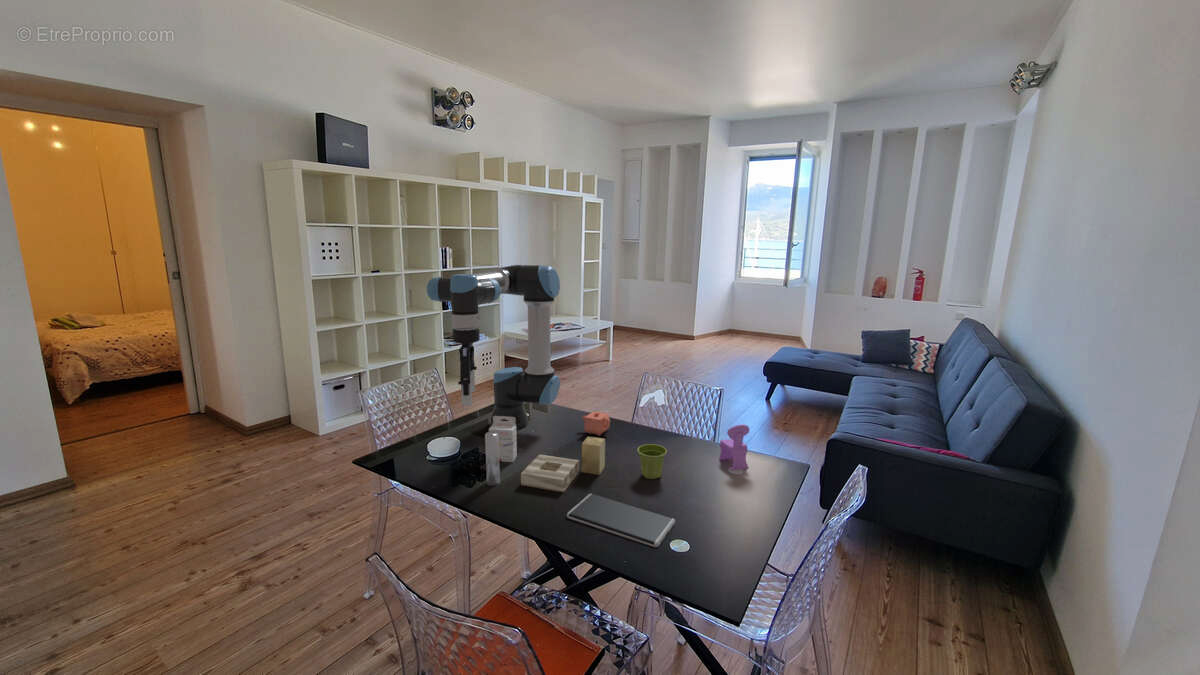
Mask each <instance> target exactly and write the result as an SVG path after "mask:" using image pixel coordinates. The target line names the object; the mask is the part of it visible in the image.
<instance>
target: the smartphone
mask: <svg viewBox="0 0 1200 675" xmlns="http://www.w3.org/2000/svg"><path fill="white" fill-rule="evenodd" d="M566 517H567V518H568V520H569V519H570V520H573V521H576V522H578V523H581V524H584V525H587V526H591V527H594V528H596V529H599V530H602V531H605V532H609V533H611V534H615V535H617V536H619V537H623V538H626V539H628V540H629V539H630V540H631V541H635V542H638V543H641V544H644V545H646V546H647V545H648V546H650V547H653V548H657V547H660V545H661V543H662V542H663V541H664V540H665V538H666V537H667V535H668V534H669V532H671V530H672V528H673V527H674V526H675V524H676V519H675V518H673V517H670V516H667V515H663V514H660V513H656V512H653V511H651V510H646V509H643V508H641V507H636V506H635V505H634V506H633V505H630V504H628V503H624V502H620V501H618V500H614V499H611V498H609V497H608V498H607V497H604V496H601V495H597V494H595V493H589V494H587V495H586V496H585V497H584V498H583V499H582V500H581V501H579V502H578V503H577V504H576V505H575V506H573V507H572V508H571V509H570V510H569V511H568V512H567V513H566Z"/></svg>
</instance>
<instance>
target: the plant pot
mask: <svg viewBox="0 0 1200 675" xmlns="http://www.w3.org/2000/svg"><path fill="white" fill-rule="evenodd" d="M667 452H668V451H667V448H665V447H664V446H662V445H661V444H659V445H658V444H651V443H648V444H647V443H646V444H643V445H640V446H638V448H637V453H638V455H639V459H640V467H641V468H640V469H641V475H642V476H643V477H644V478H645V479H649V480H654V479H659V478H661V476H662V471H663V466H664V460H665V457H666V455H667Z"/></svg>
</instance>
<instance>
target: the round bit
mask: <svg viewBox="0 0 1200 675" xmlns="http://www.w3.org/2000/svg"><path fill="white" fill-rule="evenodd" d="M484 443H485V466H486V467H485V468H486V469H485V470H486V472H485V473H486V484H487V486H497V485H499V484H500V483H501V476H500V475H501V474H500V472H501V471H500V461H499V436H498V432H494V431H492V432H489V431H488V432H485V434H484Z"/></svg>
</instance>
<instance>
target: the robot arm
mask: <svg viewBox="0 0 1200 675" xmlns="http://www.w3.org/2000/svg"><path fill="white" fill-rule="evenodd" d="M560 286H561V283H560V278H559V274H558V272H557V270H556V268H554V267H553V266H549V265H542V264H540V265H539V264H538V265H532V264H531V265H527V264H513V265H509V266H507V265H506V266H503V267H502V266H501V267H497V268H493V269H491V270H489V271H487V272H480V273H479V272H478V273H458V274H457V273H456V274H452V275H451V276H448V277H443V276H438V277H432V278H430V279H429V281H428V282H427V285H426V292H427V296H428V298H429V299H430V300H431V301H434V302H441V303H442V302H446V303H451V327H452V328H453V330H452V341H453V342H454V343H456V344H461V346H460V348H459V351H458V353H459V362H460V366H459V368H460V372H459V375H460V376H459V378H460V379H459V381H458V382H457V384H458V386H459V385H460V390H461V391H460V392H461V407H469V406H470V407H472V406H473V399H472V398H473V397H472V392H476V380H475V379H476V376H475V371H476V370H477V369H478V368H477V366H476V364H475V358H474V357H475V346H474V343H477V342H480V340H481V338H480V334H481V333H480V329H479V327H480V320H481V319H482V317H481V316H480V315H479V305H484V304H491V303H493V302H495V301H497V300H498V299H499V298H500V296H501V295H502V294H503V295H513V296H523V302H524V303H525V304H526V305H527V341H528V342H527V347H528V349H527V353H528V354H527V356H528V357H527V359H528V363H527V367H526V368H525V369H523V367H519V366H512V367H511V366H510V367H505V368H501V369H499V370H497V371H496V370H495V372H494V373H493V381H492V384H493V399H494V407H493V410H492V413H491V417H490V427H491V426H492V425H493V416H505V417H515V418H516V431H517V430H521V429H524V428H525V427H526V426H527V425H528V424H529V416H528V413H527V412H526V408H525V406H524V403H530V404H537V405H540V406H541V405H542V406H543V405H548V406H549V405H552V404H553V403H554V402H555V401H556V399H557V397H558V394H559V392H560V386H561V380H560V377H559V376H558V375H557V374H555V368H553V367H552V366H551V305H552V304H553V303H554V302H555V298H557V297H558V295H559V294H560V290H561V289H560V288H561V287H560ZM500 421H508V420H505V419H501V420H500Z"/></svg>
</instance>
